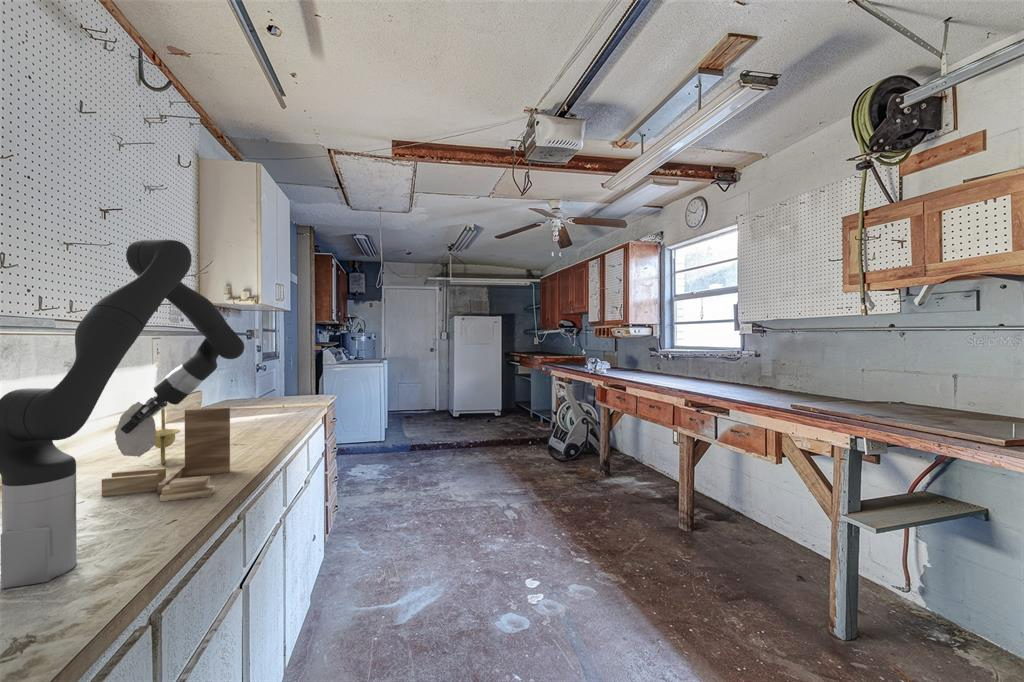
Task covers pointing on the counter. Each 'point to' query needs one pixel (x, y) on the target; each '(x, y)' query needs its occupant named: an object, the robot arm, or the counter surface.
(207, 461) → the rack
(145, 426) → the stone tool
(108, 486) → the holder
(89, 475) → the counter surface
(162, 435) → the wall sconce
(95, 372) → the robot arm
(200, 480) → the offcut stack
